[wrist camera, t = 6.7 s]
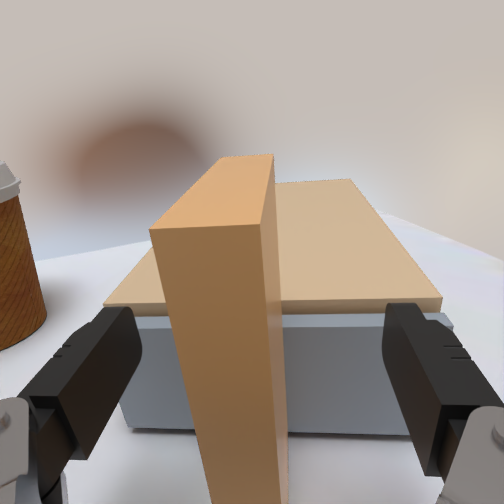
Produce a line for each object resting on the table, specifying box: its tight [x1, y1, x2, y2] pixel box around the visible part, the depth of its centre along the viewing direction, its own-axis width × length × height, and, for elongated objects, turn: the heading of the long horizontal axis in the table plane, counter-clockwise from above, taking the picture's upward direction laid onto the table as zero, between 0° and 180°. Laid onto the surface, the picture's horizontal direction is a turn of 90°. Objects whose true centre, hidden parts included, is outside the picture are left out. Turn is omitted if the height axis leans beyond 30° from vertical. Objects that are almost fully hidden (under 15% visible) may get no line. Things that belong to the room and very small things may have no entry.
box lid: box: [103, 179, 443, 317], centre depth 24 cm, size 20×14×7 cm
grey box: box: [119, 154, 454, 504], centre depth 19 cm, size 26×14×12 cm, turn 175°
